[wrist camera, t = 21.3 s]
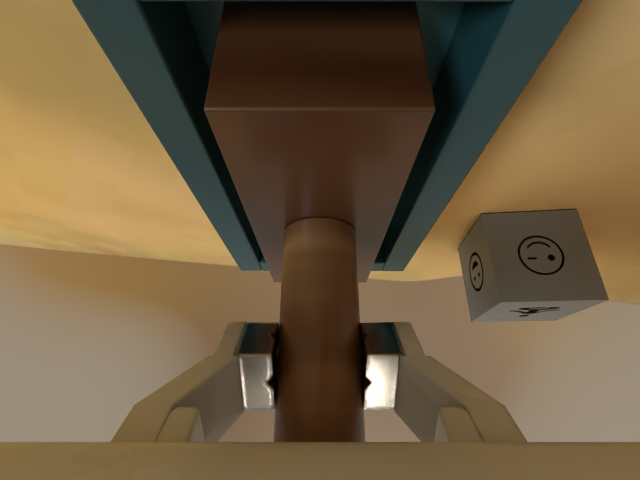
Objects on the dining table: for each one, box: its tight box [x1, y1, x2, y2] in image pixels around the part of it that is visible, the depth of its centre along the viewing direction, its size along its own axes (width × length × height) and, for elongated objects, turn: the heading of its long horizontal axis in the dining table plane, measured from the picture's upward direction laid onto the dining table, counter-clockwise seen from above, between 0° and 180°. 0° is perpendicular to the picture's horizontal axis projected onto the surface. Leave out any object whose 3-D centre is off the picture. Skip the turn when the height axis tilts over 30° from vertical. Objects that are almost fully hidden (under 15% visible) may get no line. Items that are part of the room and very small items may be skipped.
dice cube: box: [458, 209, 609, 322], centre depth 20 cm, size 5×5×5 cm
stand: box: [72, 0, 582, 271], centre depth 13 cm, size 17×11×3 cm, turn 0°
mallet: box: [204, 1, 436, 442], centre depth 11 cm, size 11×4×12 cm, turn 0°
